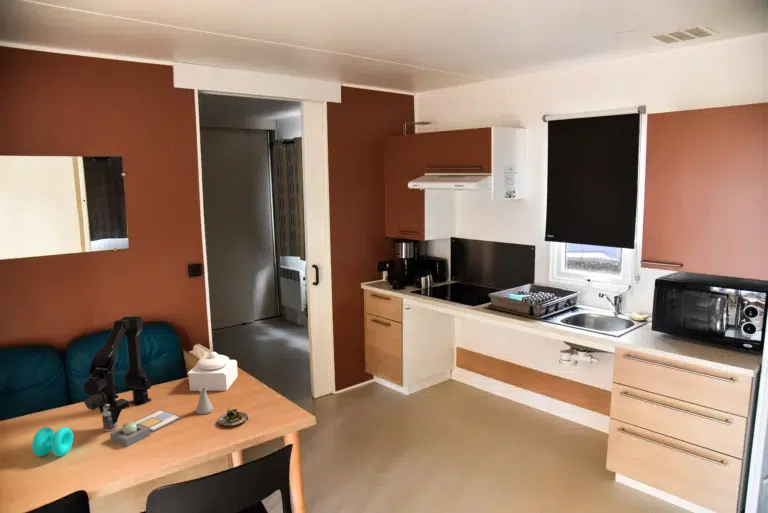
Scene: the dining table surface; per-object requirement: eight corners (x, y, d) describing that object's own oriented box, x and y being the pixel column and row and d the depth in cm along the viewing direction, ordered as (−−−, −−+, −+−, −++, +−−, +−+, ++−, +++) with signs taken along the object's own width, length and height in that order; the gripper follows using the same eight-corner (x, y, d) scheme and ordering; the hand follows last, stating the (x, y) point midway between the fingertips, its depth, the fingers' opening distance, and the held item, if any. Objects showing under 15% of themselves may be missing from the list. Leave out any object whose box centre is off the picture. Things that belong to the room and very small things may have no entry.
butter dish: (226, 391, 248) (224, 358, 246) (188, 391, 249) (186, 358, 246) (238, 376, 266) (236, 346, 263) (202, 376, 266) (200, 346, 264)
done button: (120, 435, 205) (119, 425, 204) (132, 430, 209) (131, 420, 208) (128, 438, 202) (127, 428, 201) (139, 433, 206) (138, 423, 206)
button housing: (110, 440, 204) (109, 433, 203) (134, 429, 212) (133, 422, 212) (127, 447, 199) (126, 439, 198) (150, 435, 207) (149, 428, 207)
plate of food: (216, 430, 211) (215, 412, 210) (219, 417, 222) (218, 400, 221) (247, 427, 214) (246, 409, 212) (248, 414, 225) (247, 397, 224)
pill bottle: (101, 429, 213) (98, 406, 212) (114, 424, 217) (112, 401, 216) (107, 433, 210) (104, 409, 208) (120, 428, 214) (118, 405, 212)
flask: (216, 407, 231) (214, 385, 229) (209, 415, 224) (207, 393, 222) (200, 407, 232) (198, 385, 230) (192, 414, 225) (190, 392, 223)
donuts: (50, 447, 200) (47, 422, 198) (76, 447, 199) (73, 422, 198) (32, 461, 190) (28, 435, 188) (59, 461, 190) (56, 435, 188)
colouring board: (130, 424, 217) (130, 422, 216) (160, 410, 228) (160, 409, 228) (153, 432, 210) (153, 430, 209) (182, 418, 222) (182, 416, 221)
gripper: (72, 387, 208) (76, 424, 211) (101, 397, 199) (105, 435, 201) (99, 377, 218) (103, 413, 220) (128, 386, 208) (132, 423, 211)
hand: (110, 421), depth 213 cm, fingers closed on pill bottle, 5 cm apart
